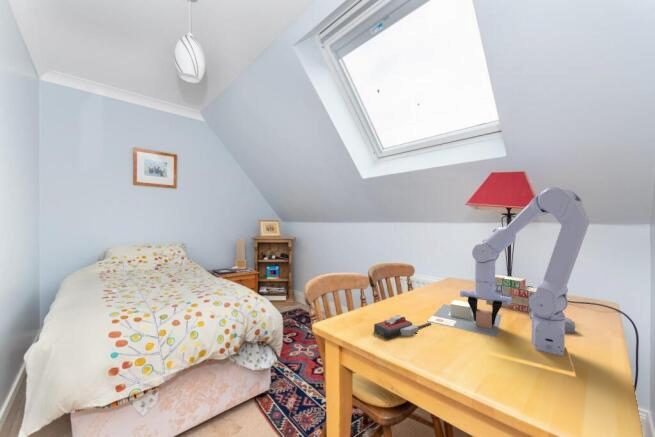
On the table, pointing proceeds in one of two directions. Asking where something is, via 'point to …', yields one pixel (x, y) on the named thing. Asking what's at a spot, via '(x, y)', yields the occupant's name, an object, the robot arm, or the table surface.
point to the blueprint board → (463, 322)
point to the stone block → (568, 324)
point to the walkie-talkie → (397, 327)
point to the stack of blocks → (513, 292)
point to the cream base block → (461, 309)
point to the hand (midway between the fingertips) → (484, 322)
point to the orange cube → (484, 318)
